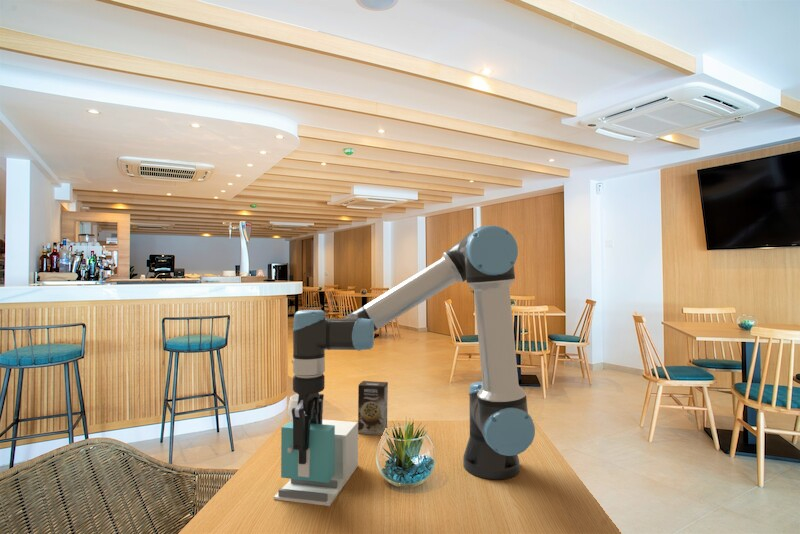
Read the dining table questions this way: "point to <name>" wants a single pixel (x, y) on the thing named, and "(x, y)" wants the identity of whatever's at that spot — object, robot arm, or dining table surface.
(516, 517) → the dining table surface
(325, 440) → the door
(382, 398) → the coffee box
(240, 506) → the dining table surface
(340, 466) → the cabinet
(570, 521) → the dining table surface
